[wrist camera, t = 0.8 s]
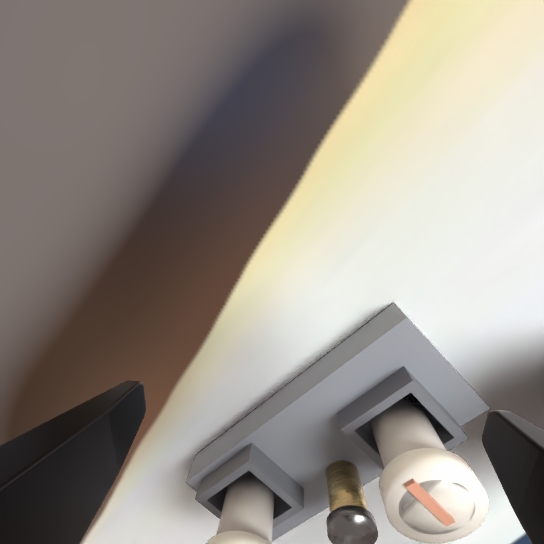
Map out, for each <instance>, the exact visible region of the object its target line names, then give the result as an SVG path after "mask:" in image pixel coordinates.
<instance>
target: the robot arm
mask: <svg viewBox="0 0 544 544" xmlns="http://www.w3.org/2000/svg"><path fill="white" fill-rule="evenodd" d="M145 411H146V402H145V392H144V385H143V383H142V382H140V381H125V382H123V383H121V384H119V385H117V386H115V387H113V388H112V389H109V390H107V391H106V392H104V393H102V394H100V395H98V396H96V397H94V398H92V399H90V400H88V401H86V402H84V403H82V404H80V405H78V406H76V407H74V408H72V409H70V410H69V411H67V412H65V413H63V414H61V415H59V416H57V417H55V418H53V419H51V420H49V421H47V422H45V423H43V424H42V425H39V426H38V427H36V428H33V429H32V430H30V431H28V432H26V433H24V434H22V435H20V436H18V437H16V438H14V439H12V440H10V441H8V442H6V443H4V444H2V445H0V544H79V543H80V542H81V540H82V538H83V536H84V535H85V533H86V531H87V529H88V527H89V526H90V524H91V522H92V520H93V519H94V517H95V515H96V513H97V511H98V510H99V508H100V506H101V504H102V502H103V501H104V499H105V497H106V495H107V494H108V492H109V490H110V488H111V486H112V485H113V483H114V481H115V479H116V477H117V475H118V473H119V471H120V469H121V467H122V465H123V463H124V460H125V458H126V456H127V454H128V452H129V449H130V447H131V445H132V443H133V440H134V438H135V436H136V433H137V431H138V429H139V427H140V425H141V422H142V420H143V418H144V415H145ZM482 442H483V446H484V448H485V450H486V452H487V455H488V457H489V459H490V461H491V463H492V465H493V467H494V470H495V472H496V474H497V476H498V478H499V480H500V482H501V484H502V487H503V489H504V491H505V493H506V495H507V497H508V499H509V502H510V504H511V506H512V508H513V510H514V512H515V514H516V516H517V518H518V519H519V521H520V523H521V525H522V527H523V529H524V530H525V532H526V534H527V536H528V537H529V539H530V541H531V543H532V544H544V430H543V429H541V428H539V427H537V426H536V425H534V424H532V423H530V422H529V421H527V420H525V419H523V418H521V417H520V416H518V415H516V414H514V413H513V412H510V411H505V410H491V411H490V412H489V413H488V416H487V420H486V424H485V427H484V431H483V434H482Z"/></svg>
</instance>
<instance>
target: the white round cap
mask: <svg viewBox="0 0 544 544" xmlns="http://www.w3.org/2000/svg"><path fill="white" fill-rule="evenodd" d="M371 428H372V431H373V434H374V437H375V440H376V444H377V447H378V450H379V453H380V456H381V459H382V462H383V465H384V470H383V472H382V474H381V477H380V481H379V488H380V492H381V496H382V499H383V503H384V506H385V510H386V513H387V517H388V519H389V521H390V523H391V524H392V526H393V527H394V528H395V529H396V530H397V531H398V532H400V533H401V534H402V535H404V536H406V537H408V538H410V539H413V540H416V541H420V542H425V543H446V542H451V541H455V540H458V539H461V538H463V537H465V536H467V535H469V534H471V533H472V532H474V531H475V530H476V529H477V528H478V527H479V526H480V525H481V524H482V523H483V522H484V520H485V518H486V516H487V514H488V510H489V499H488V496H487V493H486V491H485V490H484V488H483V486H482V485H481V483H480V482H479V480H478V478H477V477H476V475H475V474H474V472H473V471H472V469H471V467H470V466H469V465H468V463H467V462H466V461H465V460H464V459H463V458H461V457H460V456H458V455H457V454H455V453H453V452H450V451H447V450H446V448H445V447H444V445H443V443H442V442H441V440H440V438H439V436H438V435H437V433H436V431H435V430H434V428H433V426H432V424H431V423H430V421H429V419H428V418H427V416H426V414H425V412H424V411H423V409H422V408H421V407H420V406H419V405H417V404H416V403H414V402H412V401H408V400H403V399H400V400H399V401H397V402H396V403H394V404H393V405H391V406H390V407H388V408H387V409H385V410H384V411H383V412H381V413H380V414H378V415H377V416H375V417H374V418H372V419H371Z"/></svg>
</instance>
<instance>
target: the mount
mask: <svg viewBox="0 0 544 544" xmlns="http://www.w3.org/2000/svg"><path fill="white" fill-rule="evenodd" d="M409 393H412V394H413V395H414V396H415V397H416V398H417V399H418V400H419V401H417V402H415V403H416V404H417V405H419V406H420V407H421V408H422V409H423V411H424V412H425V414H426V416H427V418H428V419H429V421H430V423H431V424H432V426H433V428H434V430H435V431H436V433H437V435H438V436H439V438H440V440H441V442H442V443H443V445H444V447H445V448H446V450H447V451H449V450H451V449H452V448H454V447H456V446H457V445H459V444H461V443H462V442H464V441H466V440H467V439H468V437H467V436H466V434H465V433H464V431H463V430H462V429H461V426H463V425H464V424H466V423H467V422H469V421H471V420H472V419H474V418H476V417H477V416H479V415H481V414H482V413H484V412H486V411H487V410H489V409H490V408H489V407H488V405H487V404H486V403H485V402H484V401H483V400H482V399H481V398H480V396H479V395H478V394H477V393H476V392H475V391H474V390H473V389H472V388H471V386H470V385H469V384H468V383H467V382H466V381H465V380H464V379H463V378H462V376H461V375H460V374H459V373H458V372H457V371H456V370H455V369H454V368H453V367H452V366H451V364H450V363H449V362H448V361H447V360H446V359H445V358H444V357H443V356H442V355H441V354H440V352H439V351H438V350H437V349H436V348H435V347H434V346H433V345H432V344H431V343H430V341H429V340H428V339H427V338H426V337H425V336H424V335H423V334H422V333H421V332H420V331H419V329H418V328H417V327H416V326H415V325H414V324H413V323H412V322H411V321H410V320H409V318H408V317H407V316H406V315H405V314H404V313H403V312H402V311H401V310H400V309H399V308H398V306H397V305H396V304H395V303H392V304H391V305H390V306H388V307H387V308H386V309H385V310H383V311H382V312H381V313H379V314H378V315H377V316H375V317H374V318H373V319H372V320H370V321H369V322H368V323H366V324H365V325H364V326H362V327H361V328H360V329H359V330H357V331H356V332H355V333H353V334H352V335H351V336H350V337H348V338H347V339H346V340H344V341H343V342H342V343H340V344H339V345H338V346H337V347H335V348H334V349H333V350H331V351H330V352H329V353H327V354H326V355H325V356H324V357H322V358H321V359H320V360H318V361H317V362H316V363H314V364H313V365H312V366H311V367H309V368H308V369H307V370H305V371H304V372H303V373H302V374H300V375H299V376H298V377H296V378H295V379H294V380H292V381H291V382H290V383H289V384H287V385H286V386H285V387H283V388H282V389H281V390H279V391H278V392H277V393H276V394H274V395H273V396H272V397H270V398H269V399H268V400H266V401H265V402H264V403H263V404H261V405H260V406H259V407H257V408H256V409H255V410H254V411H252V412H251V413H250V414H248V415H247V416H246V417H244V418H243V419H242V420H241V421H239V422H238V423H237V424H235V425H234V426H233V427H231V428H230V429H229V430H228V431H226V432H225V433H224V434H222V435H221V436H220V437H219V438H217V439H216V440H215V441H213V442H212V443H211V444H209V445H208V446H207V447H206V448H204V449H203V450H202V451H200V452H199V453H198V454H196V456H195V459H194V461H193V464H192V467H191V470H190V472H189V475H188V478H187V480H186V483H187V484H188V485H189V486H191V487H192V488H193V489H194V490H196V491H197V495H196V498H195V499H196V500H197V501H198V502H199V503H201V504H202V505H203V506H204V507H205V508H207V509H208V510H209V511H210V512H212V513H213V514H214V515H215V516H217V517H218V518H219V519H220V517H221V513H222V508H223V504H224V500H225V495H226V491H227V486H228V485H229V484H230V483H232V482H233V481H235V480H236V479H237V478H239V477H240V476H242V475H243V474H244V473H246V472H247V471H250V472H251V473H253V474H254V475H255V476H256V477H257V478H258V479H260V480H261V481H262V482H263V483H264V484H265V485H267V486H268V487H269V488H270V489H271V490H272V491H273V492H275V498H274V514H273V529H272V541H273V540H275V539H277V538H278V537H280V536H282V535H283V534H285V533H286V532H288V531H290V530H291V529H293V528H295V527H296V526H298V525H300V524H301V523H303V522H305V521H306V520H308V519H309V518H311V517H313V516H314V515H316V514H318V513H319V512H321V511H323V510H324V509H326V508H328V507H329V497H328V489H327V480H326V469H327V467H328V466H329V465H330V464H331V463H333V462H335V461H339V460H345V461H349V462H351V463H353V464H354V465H355V466H356V467H357V468H358V471H359V475H360V480H361V484H362V486H364V485H365V484H367V483H369V482H370V481H372V480H374V479H375V478H377V477H379V476H380V475H381V474H382V472H383V470H384V465H383V462H382V459H381V456H380V453H379V450H378V447H377V444H376V440H375V437H374V434H373V431H372V428H371V419H372V418H374V417H375V416H377V415H378V414H380V413H381V412H383V411H384V410H385V409H387V408H388V407H390V406H391V405H393V404H394V403H396V402H397V401H399V400H400V399H402V398H403V397H405V396H406V395H408V394H409Z"/></svg>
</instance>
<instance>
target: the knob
mask: <svg viewBox="0 0 544 544" xmlns="http://www.w3.org/2000/svg"><path fill="white" fill-rule="evenodd" d="M274 498H275V492H273V491H272V490H271V489H270V488H269V487H268V486H267V485H265V484H264V483H263V482H262V481H261V480H260V479H258V478H257V477H256V476H255V475H254V474H253V473H251V472H246V473H244V474H243V475H242V476H240V477H239V478H237V479H236V480H235V481H233V482H232V483H230V484H229V485H228V486H227V491H226V495H225V500H224V504H223V508H222V513H221V517H220V522H219V526H218V531H217V535H215V536H213V537H212V538H211V539H209V540H208V542H207V543H206V544H272V529H273V514H274Z"/></svg>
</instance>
